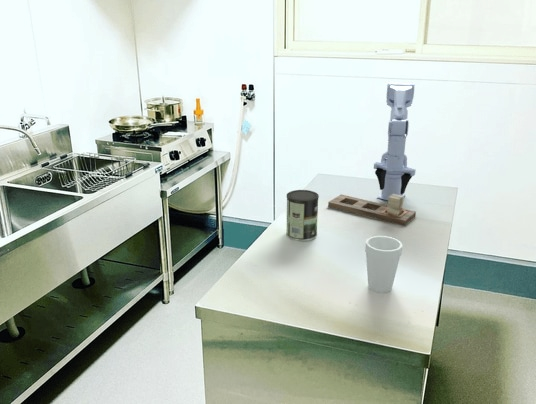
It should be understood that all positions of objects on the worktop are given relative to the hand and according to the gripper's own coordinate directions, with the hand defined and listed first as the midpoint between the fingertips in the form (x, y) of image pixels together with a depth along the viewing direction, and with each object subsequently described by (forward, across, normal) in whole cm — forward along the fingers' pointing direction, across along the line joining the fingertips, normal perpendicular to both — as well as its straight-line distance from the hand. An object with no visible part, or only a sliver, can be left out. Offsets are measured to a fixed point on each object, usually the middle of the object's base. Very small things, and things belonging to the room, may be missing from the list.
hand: (392, 191), depth 187 cm
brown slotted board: (+9, -7, -1) cm, 12 cm away
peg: (+9, +2, -1) cm, 10 cm away
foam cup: (+9, +17, -49) cm, 53 cm away
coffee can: (+9, -17, -33) cm, 38 cm away
